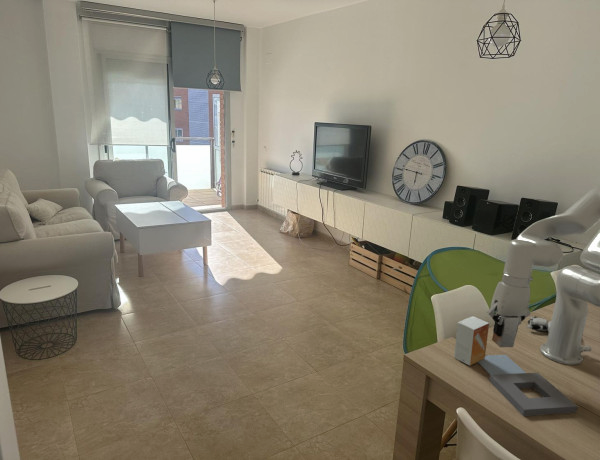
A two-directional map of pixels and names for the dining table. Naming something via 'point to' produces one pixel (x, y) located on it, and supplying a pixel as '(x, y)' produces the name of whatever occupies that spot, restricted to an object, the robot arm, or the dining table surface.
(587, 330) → the dining table surface
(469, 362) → the small box
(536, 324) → the robot toy
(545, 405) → the socket block
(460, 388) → the dining table surface
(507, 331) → the steel plug
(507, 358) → the blue pad
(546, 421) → the dining table surface
